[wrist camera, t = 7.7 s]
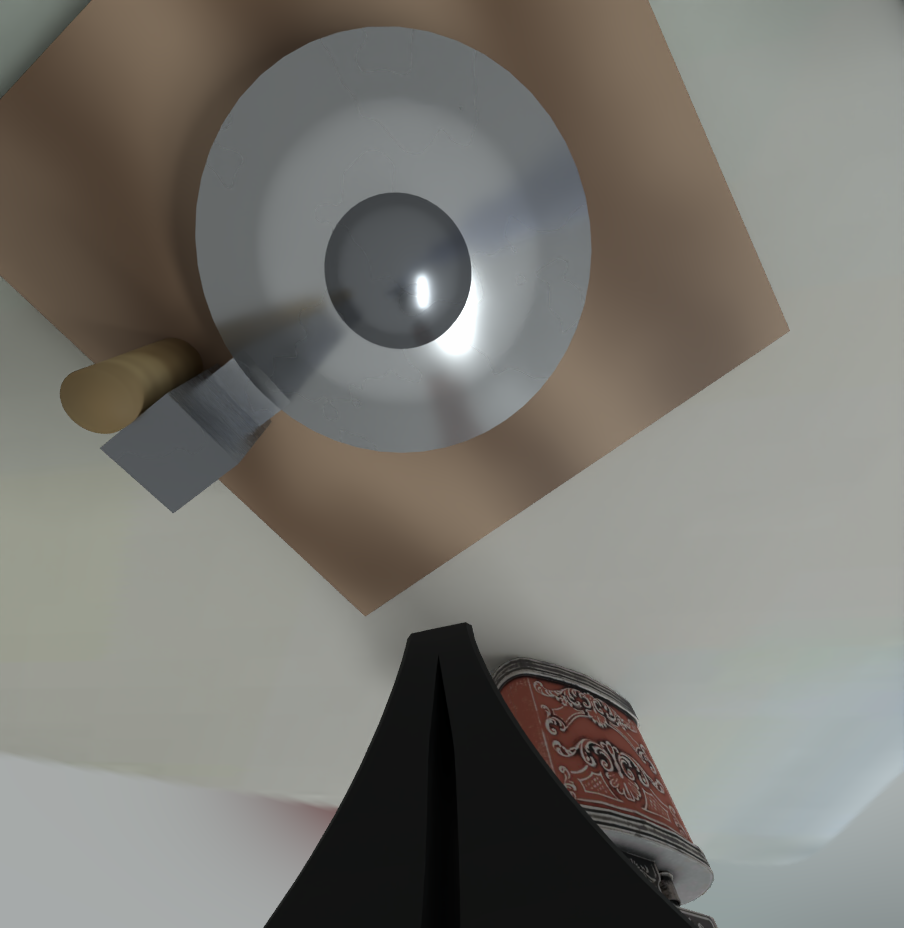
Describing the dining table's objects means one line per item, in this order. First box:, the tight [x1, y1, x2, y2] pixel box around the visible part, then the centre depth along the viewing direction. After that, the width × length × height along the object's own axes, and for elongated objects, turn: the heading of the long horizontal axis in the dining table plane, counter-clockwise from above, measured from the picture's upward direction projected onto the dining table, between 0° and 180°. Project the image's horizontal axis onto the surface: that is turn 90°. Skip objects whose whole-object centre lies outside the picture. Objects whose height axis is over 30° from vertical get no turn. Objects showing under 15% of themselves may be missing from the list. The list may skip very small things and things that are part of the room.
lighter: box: [493, 658, 717, 928], centre depth 20 cm, size 8×3×10 cm, turn 59°
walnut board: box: [0, 0, 790, 616], centre depth 14 cm, size 19×19×6 cm
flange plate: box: [100, 27, 591, 513], centre depth 14 cm, size 11×14×4 cm
